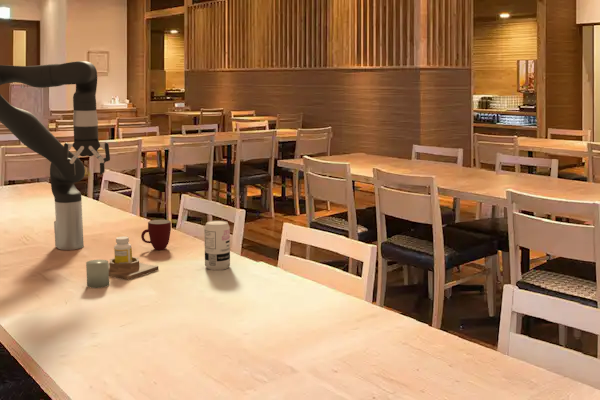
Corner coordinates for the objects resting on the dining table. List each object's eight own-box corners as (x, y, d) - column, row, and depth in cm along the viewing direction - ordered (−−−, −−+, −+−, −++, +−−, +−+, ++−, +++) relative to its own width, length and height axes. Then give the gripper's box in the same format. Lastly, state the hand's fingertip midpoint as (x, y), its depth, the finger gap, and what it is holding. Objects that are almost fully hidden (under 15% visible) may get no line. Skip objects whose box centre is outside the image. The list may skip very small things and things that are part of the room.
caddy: (90, 272, 225) (90, 261, 224) (122, 262, 236) (122, 252, 236) (127, 280, 216) (126, 269, 216) (158, 269, 228) (158, 259, 228)
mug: (145, 253, 249) (145, 225, 247) (139, 248, 256) (138, 221, 254) (174, 250, 254) (173, 222, 252) (167, 245, 261) (166, 218, 259)
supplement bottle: (124, 264, 230) (123, 235, 228) (136, 266, 227) (134, 237, 225) (111, 267, 226) (110, 238, 224) (122, 270, 223) (121, 240, 221)
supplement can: (205, 264, 236) (204, 220, 233) (230, 263, 236) (229, 220, 234) (204, 270, 228) (203, 225, 225) (229, 270, 228) (229, 225, 226)
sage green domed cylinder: (82, 285, 211) (81, 263, 209) (98, 280, 216) (97, 258, 215) (97, 289, 207) (96, 266, 206) (113, 283, 213) (112, 261, 212)
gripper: (61, 125, 220) (63, 176, 223) (108, 125, 224) (110, 175, 227) (63, 123, 228) (65, 173, 231) (108, 123, 231) (110, 172, 234)
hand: (87, 174), depth 229 cm, fingers open, 8 cm apart
